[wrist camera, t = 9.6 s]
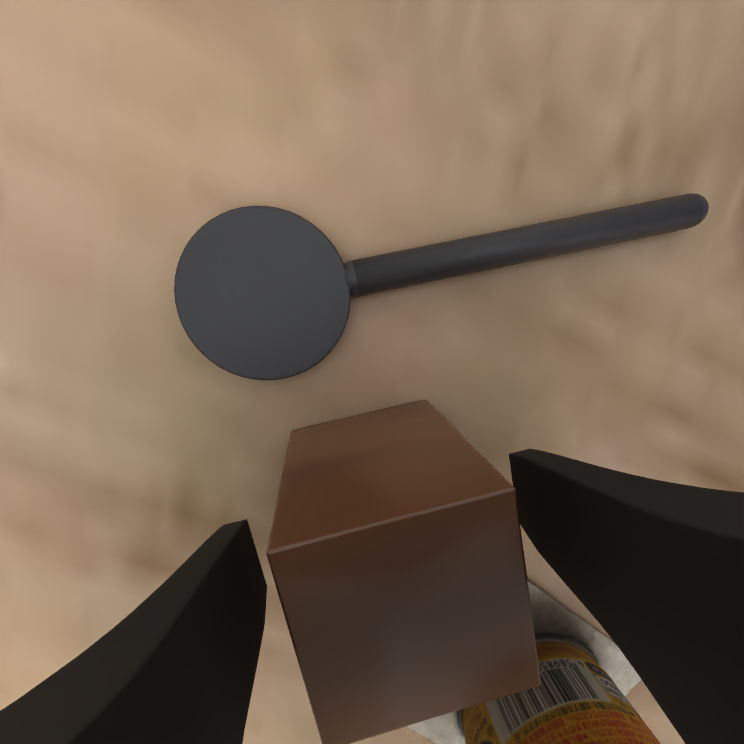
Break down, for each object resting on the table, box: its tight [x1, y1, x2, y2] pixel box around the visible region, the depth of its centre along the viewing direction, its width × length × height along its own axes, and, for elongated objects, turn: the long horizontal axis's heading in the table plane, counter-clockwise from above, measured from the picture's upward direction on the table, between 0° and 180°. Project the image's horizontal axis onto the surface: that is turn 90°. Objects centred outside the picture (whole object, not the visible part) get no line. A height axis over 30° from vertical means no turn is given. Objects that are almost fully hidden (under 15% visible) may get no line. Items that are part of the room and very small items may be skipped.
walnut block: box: [266, 400, 541, 744], centre depth 10 cm, size 4×4×6 cm
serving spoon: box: [174, 194, 709, 380], centre depth 12 cm, size 16×5×1 cm, turn 101°
